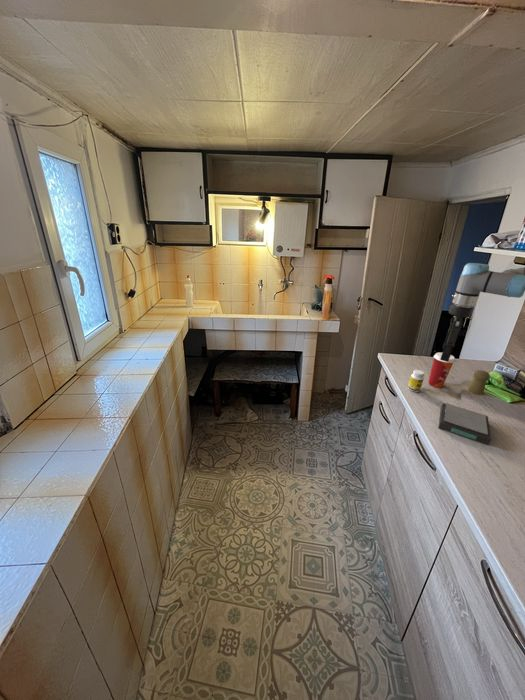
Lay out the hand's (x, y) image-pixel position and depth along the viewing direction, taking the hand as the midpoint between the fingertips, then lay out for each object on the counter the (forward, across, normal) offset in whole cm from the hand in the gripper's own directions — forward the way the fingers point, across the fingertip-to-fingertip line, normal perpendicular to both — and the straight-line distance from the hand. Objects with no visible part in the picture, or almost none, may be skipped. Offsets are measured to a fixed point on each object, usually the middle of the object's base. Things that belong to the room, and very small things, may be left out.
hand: (445, 354), depth 117 cm
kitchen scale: (+14, +26, +10) cm, 31 cm away
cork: (+14, 0, +14) cm, 20 cm away
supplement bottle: (+15, +10, -7) cm, 19 cm away
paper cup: (+15, 0, 0) cm, 15 cm away
